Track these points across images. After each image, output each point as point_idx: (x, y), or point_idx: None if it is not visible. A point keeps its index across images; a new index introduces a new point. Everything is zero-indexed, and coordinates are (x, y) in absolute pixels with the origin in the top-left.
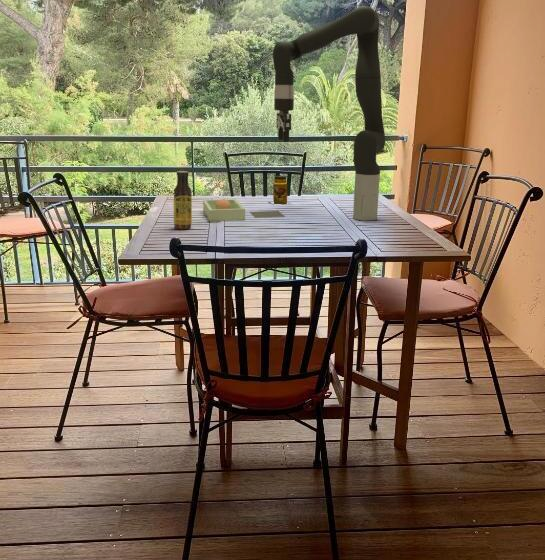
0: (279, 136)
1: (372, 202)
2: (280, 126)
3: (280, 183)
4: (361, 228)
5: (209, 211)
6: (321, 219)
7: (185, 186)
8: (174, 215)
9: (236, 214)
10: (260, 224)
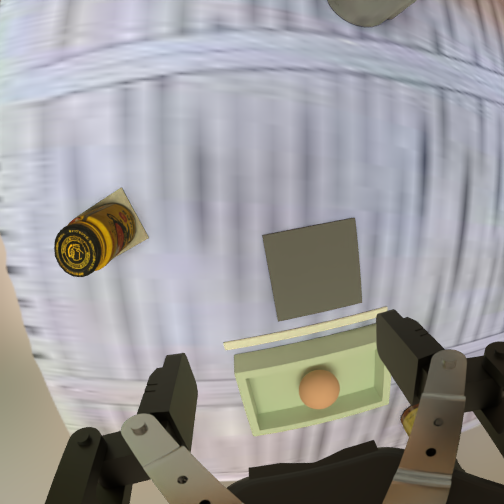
0: (194, 403)
1: None
2: (137, 469)
3: (109, 245)
4: (461, 54)
5: (387, 402)
6: (377, 114)
7: None
8: None
9: None
10: (421, 284)
